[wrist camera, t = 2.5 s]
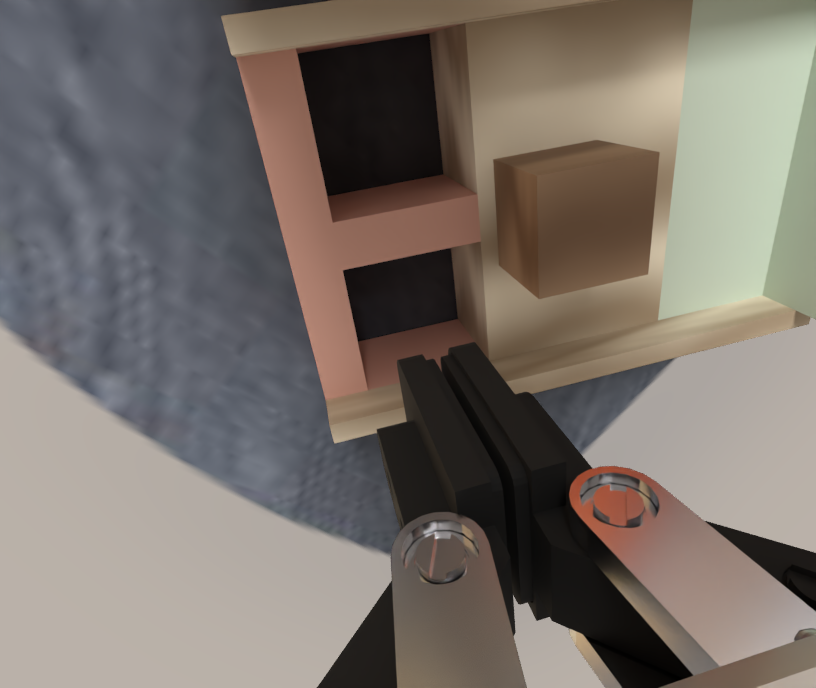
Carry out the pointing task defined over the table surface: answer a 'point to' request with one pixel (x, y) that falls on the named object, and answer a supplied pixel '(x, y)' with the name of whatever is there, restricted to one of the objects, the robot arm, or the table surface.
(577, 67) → the box
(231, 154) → the table surface
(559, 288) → the walnut block
